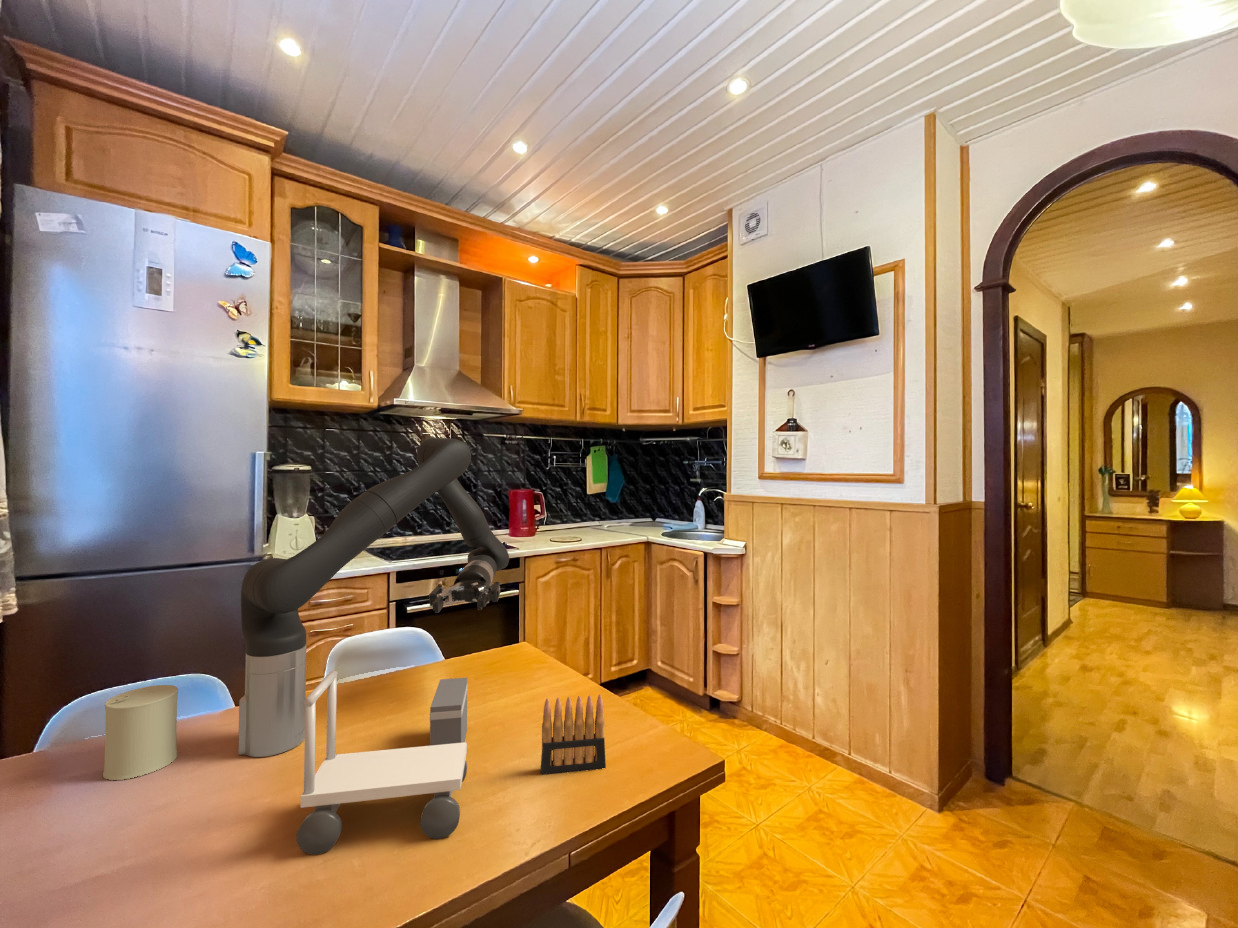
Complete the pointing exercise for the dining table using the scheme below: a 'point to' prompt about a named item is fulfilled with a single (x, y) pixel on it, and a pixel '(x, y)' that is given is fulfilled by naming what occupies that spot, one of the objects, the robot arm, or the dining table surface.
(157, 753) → the can
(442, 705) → the grey lidded box
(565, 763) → the ammunition clip
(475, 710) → the dining table surface
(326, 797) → the trolley
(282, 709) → the robot arm
